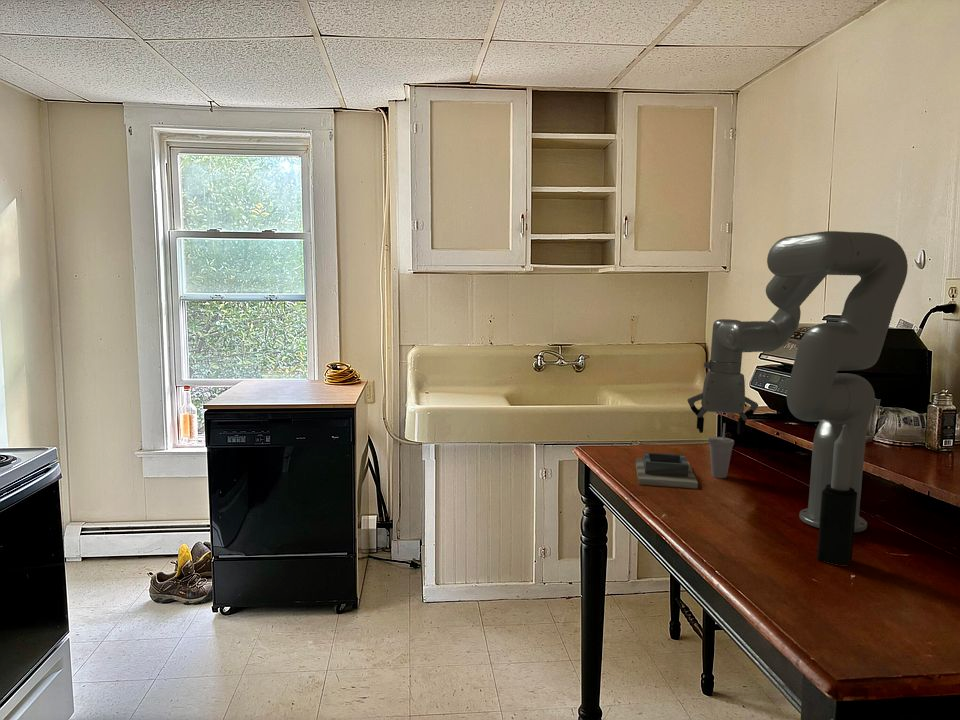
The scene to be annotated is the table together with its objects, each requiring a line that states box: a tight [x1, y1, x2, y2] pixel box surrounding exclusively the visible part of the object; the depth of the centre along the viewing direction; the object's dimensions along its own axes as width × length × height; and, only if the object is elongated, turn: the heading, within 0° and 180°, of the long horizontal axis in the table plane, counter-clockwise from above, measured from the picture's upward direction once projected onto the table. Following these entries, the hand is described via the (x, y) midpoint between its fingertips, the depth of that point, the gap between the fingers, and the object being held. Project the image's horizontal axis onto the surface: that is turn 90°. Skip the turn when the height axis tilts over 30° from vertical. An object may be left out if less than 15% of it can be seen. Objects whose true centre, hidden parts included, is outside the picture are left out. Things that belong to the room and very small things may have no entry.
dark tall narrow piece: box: [816, 425, 857, 566], centre depth 121 cm, size 5×5×25 cm
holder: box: [635, 451, 699, 490], centre depth 174 cm, size 20×14×4 cm
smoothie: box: [708, 422, 735, 479], centre depth 174 cm, size 6×6×14 cm
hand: (720, 433), depth 174 cm, fingers open, 9 cm apart
